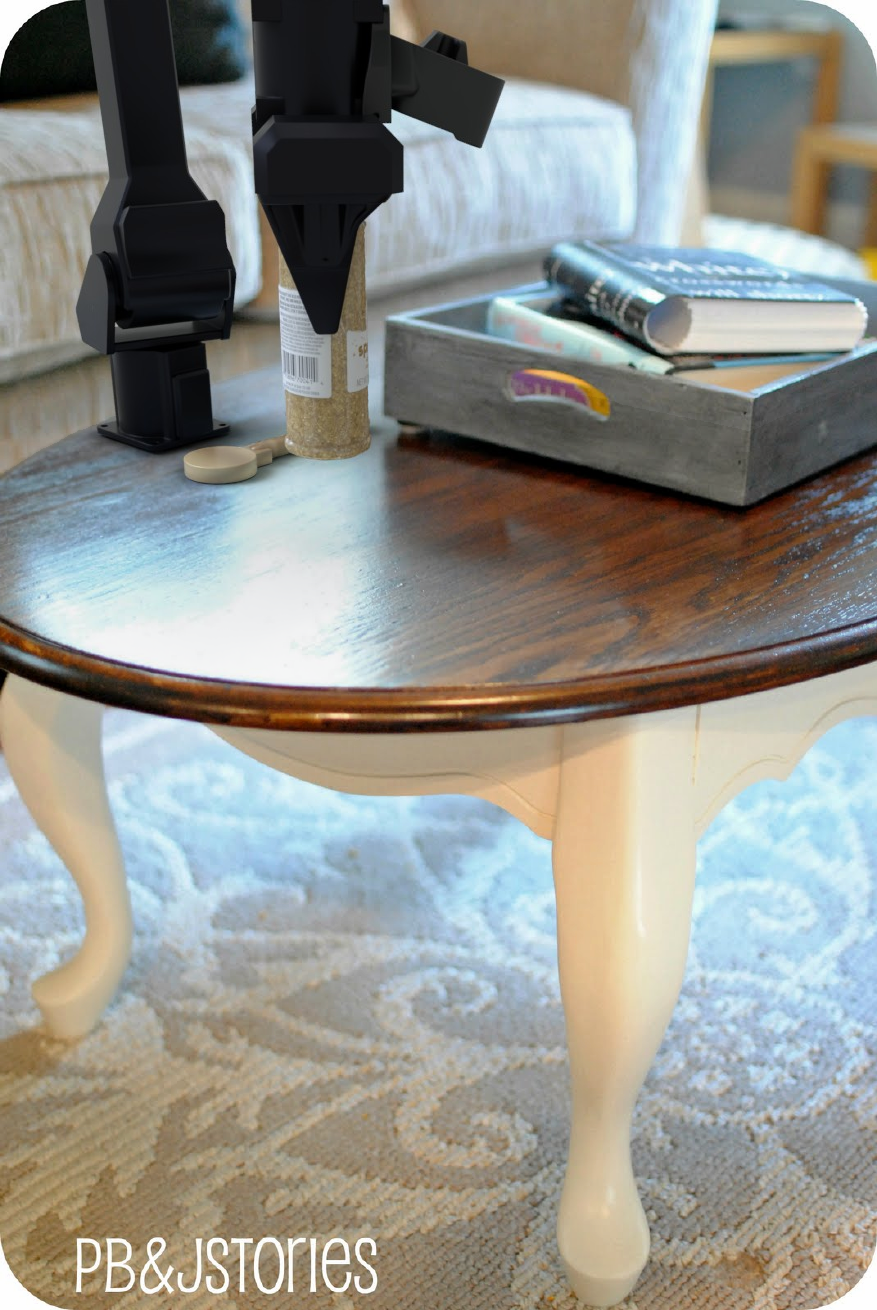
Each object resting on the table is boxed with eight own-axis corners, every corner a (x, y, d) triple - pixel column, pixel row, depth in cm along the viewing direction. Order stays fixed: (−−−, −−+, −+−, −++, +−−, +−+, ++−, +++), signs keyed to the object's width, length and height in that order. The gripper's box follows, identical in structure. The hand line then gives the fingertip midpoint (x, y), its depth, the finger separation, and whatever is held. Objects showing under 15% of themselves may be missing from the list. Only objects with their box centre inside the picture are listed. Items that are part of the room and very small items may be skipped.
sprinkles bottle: (388, 453, 70) (386, 178, 64) (309, 468, 68) (300, 184, 62) (343, 431, 73) (337, 167, 67) (267, 444, 71) (254, 173, 65)
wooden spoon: (215, 489, 81) (214, 469, 80) (170, 472, 83) (168, 453, 83) (391, 435, 91) (390, 418, 90) (345, 422, 93) (344, 405, 93)
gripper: (531, -28, 53) (517, 367, 60) (463, -28, 70) (458, 282, 77) (243, -31, 52) (263, 373, 59) (244, -30, 69) (259, 286, 76)
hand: (323, 322), depth 68 cm, fingers closed on sprinkles bottle, 4 cm apart
